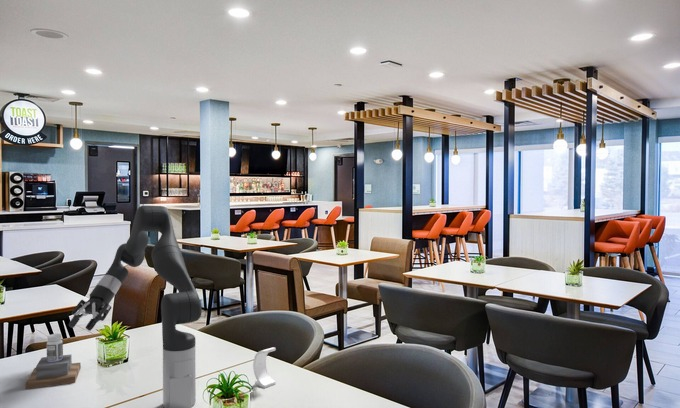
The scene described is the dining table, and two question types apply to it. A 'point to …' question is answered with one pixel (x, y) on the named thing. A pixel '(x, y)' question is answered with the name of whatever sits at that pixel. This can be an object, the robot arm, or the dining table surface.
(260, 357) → the headphone stand
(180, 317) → the robot arm
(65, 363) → the pedestal
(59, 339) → the pill bottle
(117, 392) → the dining table surface
